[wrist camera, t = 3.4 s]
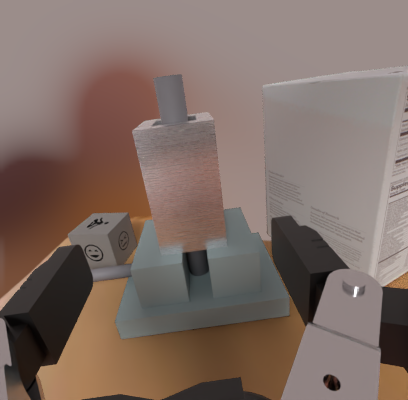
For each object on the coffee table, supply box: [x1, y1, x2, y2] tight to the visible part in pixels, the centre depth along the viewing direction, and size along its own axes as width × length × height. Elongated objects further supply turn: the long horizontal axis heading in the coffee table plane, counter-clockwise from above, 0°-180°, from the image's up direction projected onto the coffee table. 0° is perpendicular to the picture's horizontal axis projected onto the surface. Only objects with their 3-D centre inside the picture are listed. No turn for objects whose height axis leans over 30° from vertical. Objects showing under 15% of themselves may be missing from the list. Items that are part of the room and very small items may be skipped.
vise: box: [91, 75, 290, 339], centre depth 22 cm, size 21×10×19 cm, turn 93°
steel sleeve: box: [132, 112, 227, 256], centre depth 22 cm, size 5×5×10 cm
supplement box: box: [262, 66, 408, 287], centre depth 26 cm, size 13×13×18 cm
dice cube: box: [68, 213, 137, 269], centre depth 32 cm, size 5×5×5 cm
